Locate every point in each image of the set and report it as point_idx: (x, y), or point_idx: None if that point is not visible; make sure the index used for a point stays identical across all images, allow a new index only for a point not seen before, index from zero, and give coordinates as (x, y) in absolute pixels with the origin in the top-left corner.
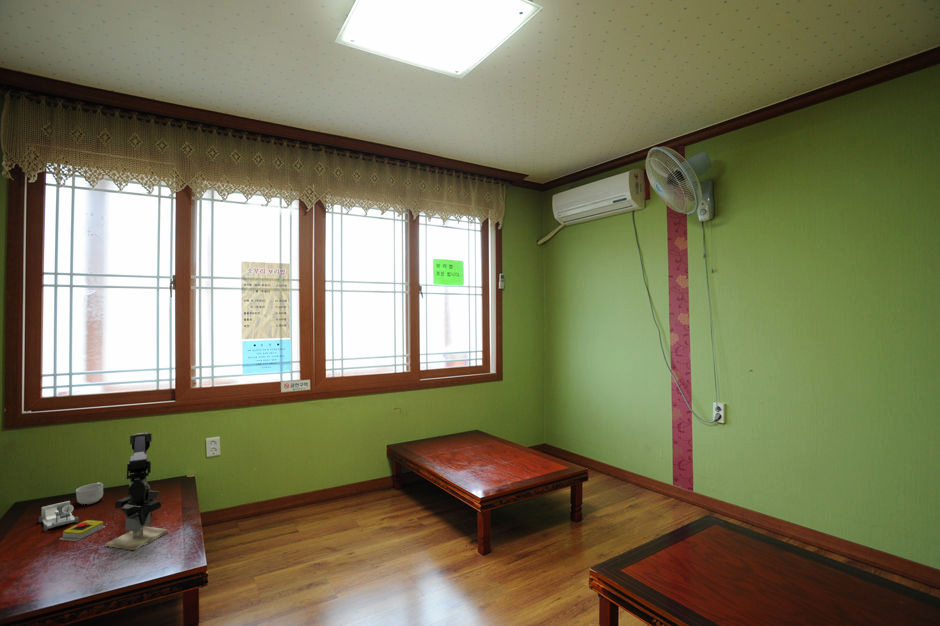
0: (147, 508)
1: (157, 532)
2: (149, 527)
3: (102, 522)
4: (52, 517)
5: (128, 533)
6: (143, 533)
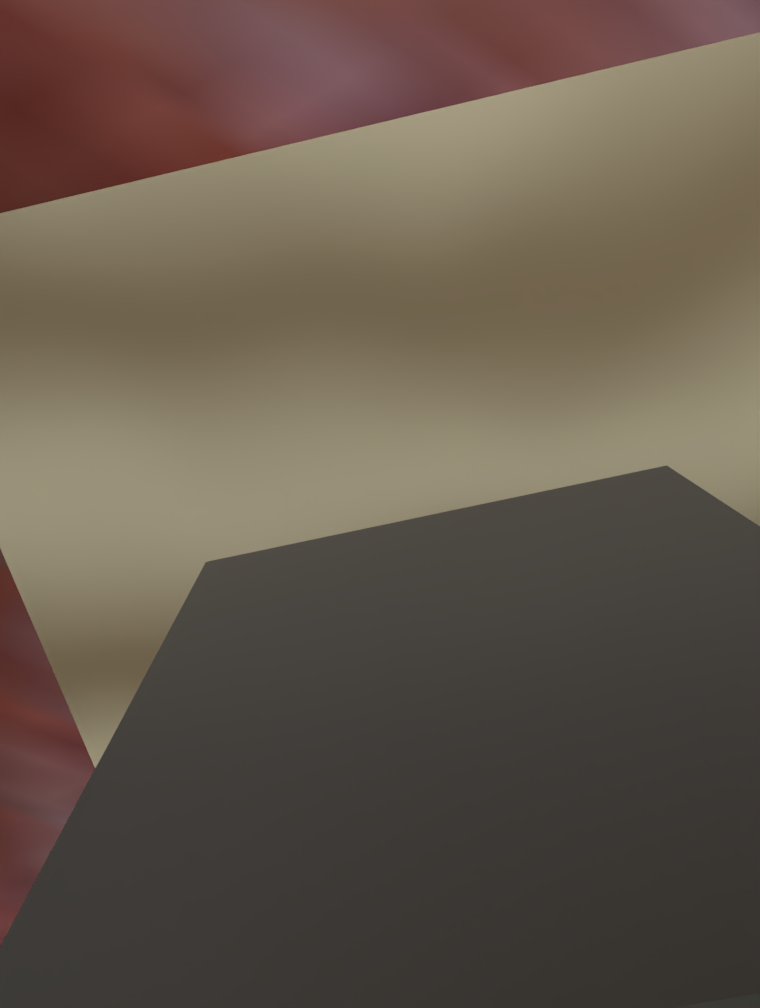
0: None
1: (743, 296)
2: (203, 207)
3: None
4: None
5: (113, 666)
6: (440, 504)
